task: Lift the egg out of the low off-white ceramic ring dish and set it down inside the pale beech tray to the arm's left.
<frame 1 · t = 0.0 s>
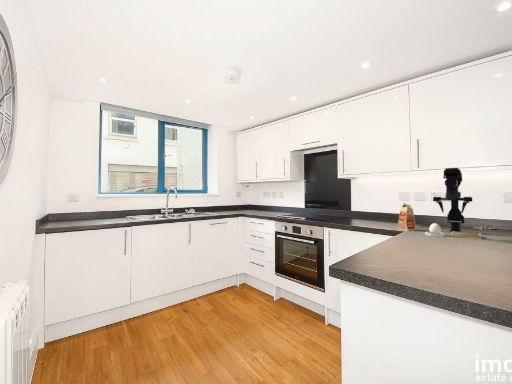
hand: (452, 213, 150), 15 cm above the worktop, fingers open, 9 cm apart
tray: (465, 236, 150), on the worktop
egg: (435, 235, 157), resting in ring dish
milk carton: (406, 229, 182), on the worktop
ring dish: (435, 234, 157), on the worktop
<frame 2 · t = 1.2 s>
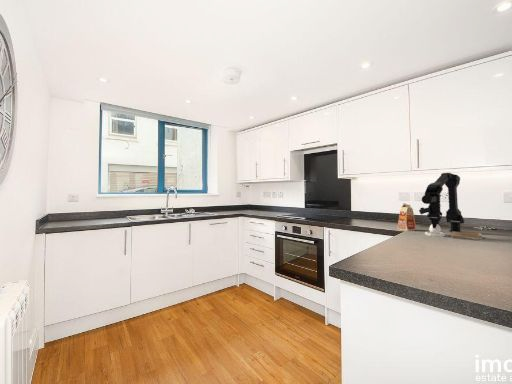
hand: (435, 227, 157), 5 cm above the worktop, fingers open, 9 cm apart
nothing on the worktop moved.
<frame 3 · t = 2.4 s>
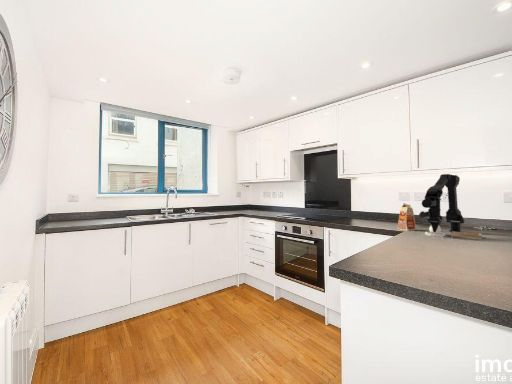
hand: (435, 231, 157), 2 cm above the worktop, fingers closed on egg, 6 cm apart
egg: (435, 235, 157), resting in ring dish, touching gripper
everything else where it was.
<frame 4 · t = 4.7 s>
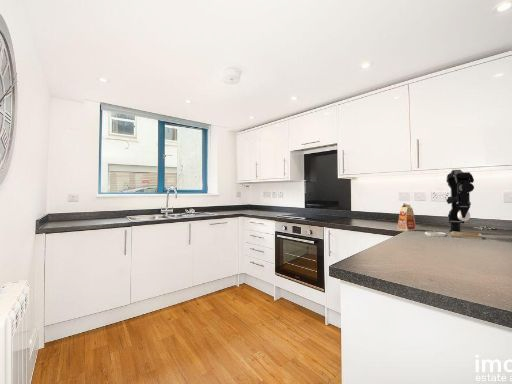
hand: (463, 217, 151), 12 cm above the worktop, fingers closed on egg, 6 cm apart
egg: (463, 221, 150), point 9 cm above the worktop, touching gripper
everything else where it was.
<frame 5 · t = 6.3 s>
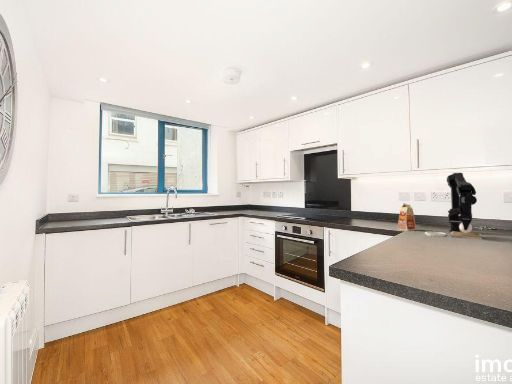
hand: (465, 229, 150), 4 cm above the worktop, fingers closed on egg, 6 cm apart
egg: (465, 233, 150), point 2 cm above the worktop, touching gripper
everything else where it was.
when the fingers open (4 cm above the worktop, at t = 7.0 s): egg drops 1 cm, resting on tray.
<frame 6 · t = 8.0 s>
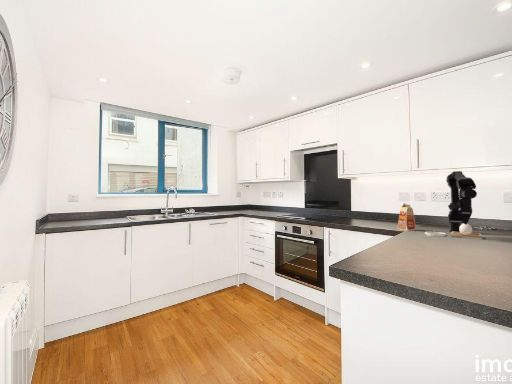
hand: (465, 223, 150), 8 cm above the worktop, fingers open, 9 cm apart
egg: (465, 235, 150), point 1 cm above the worktop, touching tray
everything else where it was.
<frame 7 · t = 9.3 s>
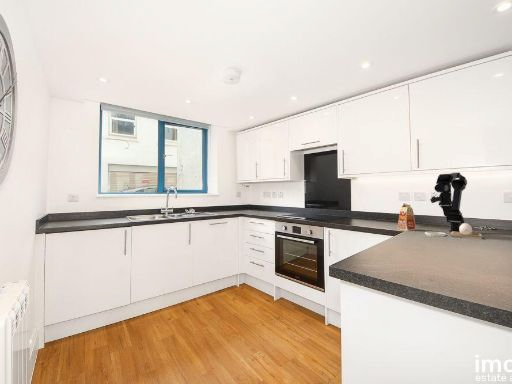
hand: (446, 215, 162), 12 cm above the worktop, fingers open, 9 cm apart
nothing on the worktop moved.
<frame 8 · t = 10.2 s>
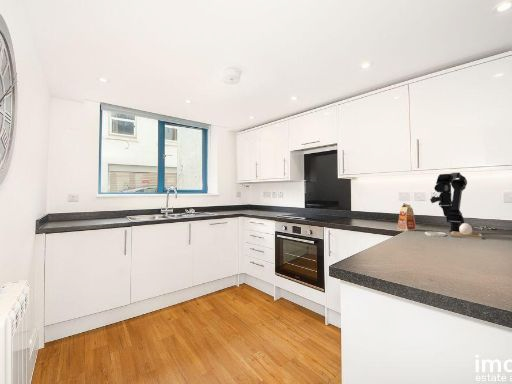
hand: (446, 215, 162), 12 cm above the worktop, fingers open, 9 cm apart
nothing on the worktop moved.
at the end: egg inside the target area on the tray (0.1 cm from its centre), point 0.6 cm above the tray's base; the gripper is holding nothing; egg moved 15.5 cm from its start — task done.
